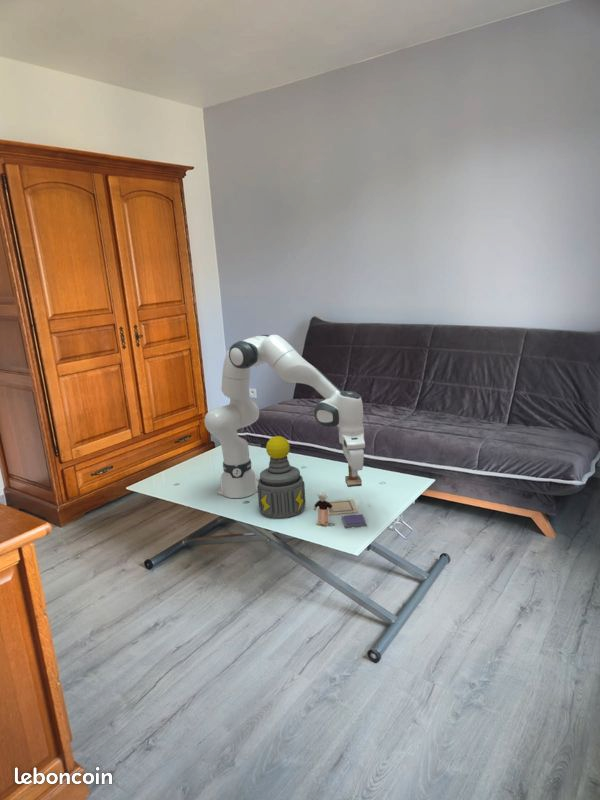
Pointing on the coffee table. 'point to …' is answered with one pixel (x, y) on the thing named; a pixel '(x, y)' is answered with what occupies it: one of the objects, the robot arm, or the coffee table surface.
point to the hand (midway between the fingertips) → (352, 473)
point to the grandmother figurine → (323, 509)
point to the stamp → (353, 479)
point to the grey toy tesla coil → (280, 483)
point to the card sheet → (342, 507)
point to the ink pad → (354, 521)
